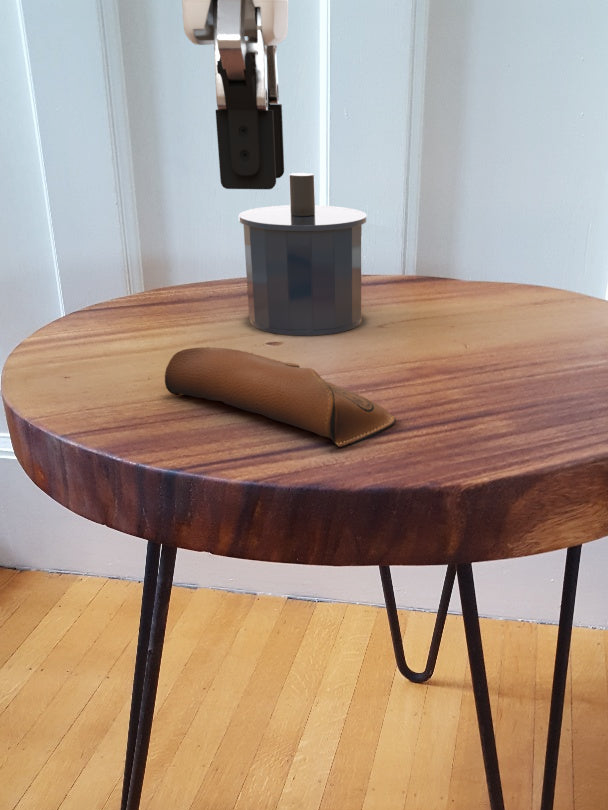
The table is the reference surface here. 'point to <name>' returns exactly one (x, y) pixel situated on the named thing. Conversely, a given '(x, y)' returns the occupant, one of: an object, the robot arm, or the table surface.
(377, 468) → the table surface
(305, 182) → the pot lid
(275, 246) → the pot
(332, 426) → the sunglasses case
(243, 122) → the robot arm
